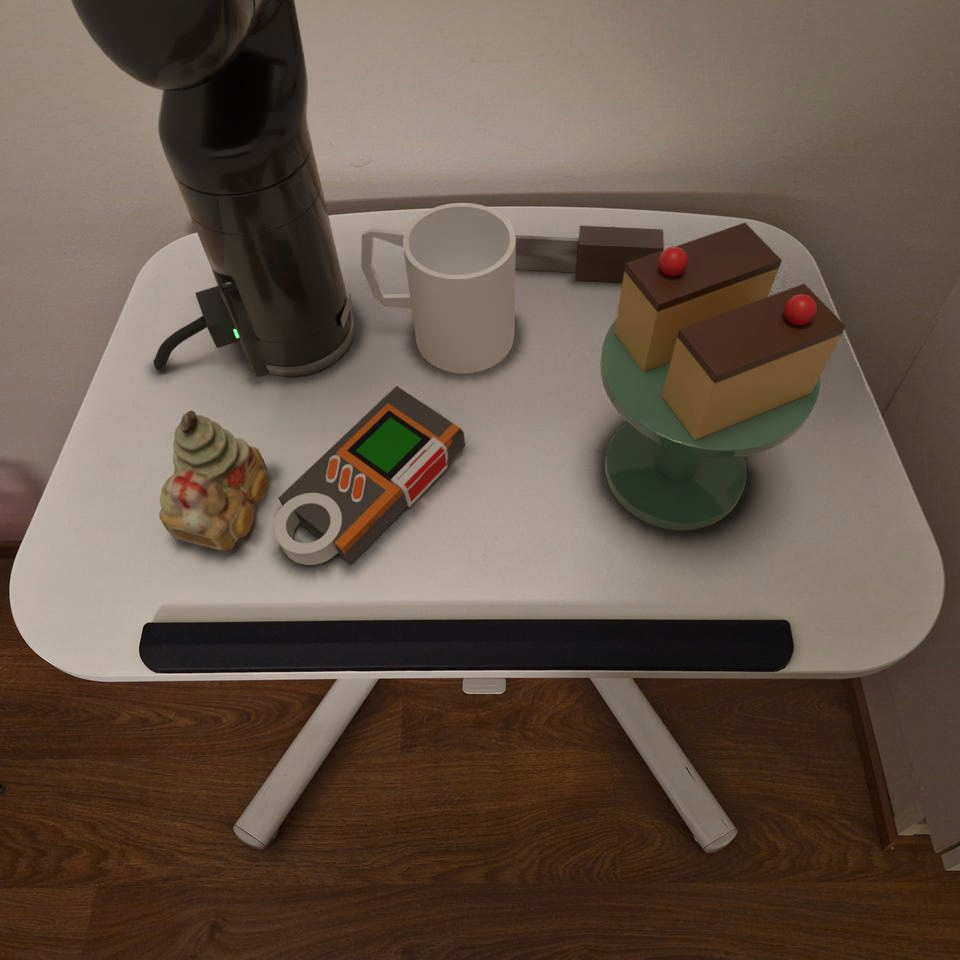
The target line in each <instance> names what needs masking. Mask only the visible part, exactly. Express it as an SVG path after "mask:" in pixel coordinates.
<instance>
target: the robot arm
mask: <svg viewBox="0 0 960 960" xmlns="http://www.w3.org/2000/svg"><path fill="white" fill-rule="evenodd" d="M70 2H71V4H72V6H73V9H74V11H75V13H76V14H77V17H78V18H79V20H80V22H81V24H82V26H83V27H84V29H85V31H86V32H87V34H88V35H89V37H90V38H91V40H92V41H93V42H94V43H95V44H96V46H97V47H98V49H100V50H101V52H102V53H103V54H104V55H105V57H107V58H108V59H109V60H110V61H111V62H112V63H113V64H114V65H115V66H116V67H118V69H119V70H120V71H122V72H123V73H125V74H126V75H127V76H129V77H131V78H132V79H133V80H134V81H137V82H138V83H141V84H142V85H144V86H147V87H150V88H152V89H156V90H160V91H161V94H160V102H159V108H158V115H157V134H158V140H159V143H160V145H161V148H162V151H163V154H164V156H165V158H166V161H167V163H168V166H169V168H170V170H171V173H172V174H173V177H174V179H175V182H176V184H177V187H178V189H179V191H180V194H181V197H182V199H183V202H184V205H185V207H186V209H187V212H188V214H189V216H190V219H191V221H192V223H193V226H194V229H195V231H196V233H197V236H198V238H199V241H200V243H201V246H202V249H203V251H204V253H205V256H206V258H207V260H208V263H209V266H210V269H211V271H212V274H213V277H214V280H215V282H216V284H217V285H215V286H213V287H208V288H207V289H203V290H200V291H197V292H195V293H194V294H195V297H196V300H197V302H198V305H199V308H200V311H201V314H202V315H201V316H199V317H198V318H196V319H195V320H193V321H191V322H190V323H188V324H186V325H184V326H183V327H181V328H180V329H177V330H176V331H175V332H173V333H172V334H170V336H168V337H167V338H166V339H165V340H164V341H163V342H161V345H160V346H159V347H158V349H157V352H156V355H155V357H154V359H153V365H154V368H155V370H156V371H158V372H159V371H161V370H163V369H164V368H165V367H166V366H167V364H168V360H169V357H170V356H171V354H172V352H173V351H174V350H175V349H176V348H177V347H178V346H179V345H181V344H182V343H183V342H185V341H187V340H188V339H190V338H191V337H193V336H195V335H196V334H199V333H200V332H202V331H203V330H206V329H207V330H208V332H209V335H210V337H211V339H212V341H213V344H214V345H215V348H216V349H220V348H223V347H227V346H229V345H232V344H235V343H238V342H240V345H241V347H242V350H243V352H244V354H245V356H246V358H247V361H248V363H249V365H250V367H251V370H252V372H253V375H254V376H255V377H260V376H264V375H266V374H271V375H276V376H281V377H282V376H283V377H298V376H305V375H311V374H312V373H316V372H319V371H321V370H324V369H325V368H327V367H329V366H331V365H332V364H334V363H336V362H338V360H340V358H341V357H343V356H344V354H345V353H346V352H347V351H348V349H349V348H350V346H351V344H352V343H353V340H354V337H355V331H356V327H355V326H356V325H355V319H354V315H353V311H352V309H351V308H352V305H353V298H352V293H351V292H349V294H347V291H346V286H345V282H344V278H343V273H342V269H341V264H340V261H339V256H338V250H337V247H336V243H335V238H334V234H333V229H332V225H331V221H330V217H329V212H328V207H327V204H326V199H325V194H324V191H323V186H322V181H321V178H320V173H319V169H318V164H317V160H316V155H315V151H314V147H313V146H314V145H313V143H312V138H311V137H312V136H311V133H310V128H309V124H308V100H309V99H308V97H309V79H308V77H309V75H308V67H307V62H306V56H305V51H304V45H303V40H302V33H301V27H300V23H299V16H298V10H297V6H296V0H70Z"/></svg>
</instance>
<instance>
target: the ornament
mask: <svg viewBox="0 0 960 960" xmlns="http://www.w3.org/2000/svg"><path fill="white" fill-rule="evenodd" d="M172 446H173V447H172V448H173V454H172V463H173V464H174V466H173V474H172V475H171V476H170V477H168V479H167V480H166V481H165V482H164V483H163V485H162V487H161V492H160V496H159V504H160V507H161V508H160V511H159V513H158V516H159V520H160V522H161V523H162V525H163V526H164V528H165V530H166V531H167V532H168V533H169V534H170V535H171V536H172V537H173V538H175V539H178V540H180V541H182V542H187V543H190V544H194V545H198V546H202V547H207V548H209V549H212V550H216V551H217V550H218V551H221V552H223V551H224V552H228V551H230V550H232V549H233V548H234V546H236V544H237V542H238V540H240V539H241V538H243V537H246V536H247V535H248V534H249V533H250V531H251V529H252V526H253V524H254V520H255V508H254V506H253V505H255V504H257V503H259V502H261V501H262V500H263V498H264V497H265V495H266V493H267V491H268V488H269V484H270V483H269V475H268V473H267V472H268V468H267V464H266V462H265V460H264V457H263V456H262V454H261V452H260V450H259V449H258V448H257V447H255V446H250V445H249V444H248V442H247V441H246V440H245V439H244V438H240V437H235V436H234V434H233V433H232V432H231V431H230V430H228V429H226V428H224V427H222V426H221V425H220V423H219V422H217V421H215V420H211V419H210V417H208V416H206V415H202V414H196V412H195V411H194V410H188V411H187V412H185V413H183V414H182V416H181V420H180V422H179V423H178V425H176V428H175V430H174V439H173V445H172Z"/></svg>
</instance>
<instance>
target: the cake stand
mask: <svg viewBox="0 0 960 960" xmlns="http://www.w3.org/2000/svg"><path fill="white" fill-rule="evenodd" d="M616 319H617V317H616V318H615V319H614V321H613V322H612V323H611V325H610V326H609V328H608V330H607V331H606V335H605V336H604V339H603V343H602V347H601V354H600V360H599V361H600V362H599V366H600V370H599V371H600V377H601V381H602V385H603V388H604V391H605V393H606V395H607V397H608V399H609V401H610V402H611V405H612V406H613V407H614V409H615V410H616V411H617V412H618V413H619V415H620V416H621V417H622V418H623V419H624V420H625V421H626V422H625V423H624V424H623V425H621V426H620V427H619V428H618V430H617V431H615V433H614V435H613V436H612V438H611V439H610V442H609V444H608V447H607V450H606V457H605V461H604V472H605V478H606V481H607V485H608V486H609V489H610V491H611V492H612V495H613V496H614V498H615V499H616V500H617V502H618V503H619V504H620V505H621V506H622V507H623V508H624V509H625V510H626V511H627V512H628V513H630V515H632V516H634V517H635V518H637V519H638V520H640V521H642V522H644V523H646V524H648V525H651V526H654V527H656V528H661V529H665V530H671V531H694V530H700V529H704V528H707V527H709V526H711V525H714V524H716V523H717V522H720V521H722V520H723V519H724V518H725V517H727V516H728V515H729V514H730V513H731V512H732V511H733V510H734V508H735V507H736V506H737V504H738V502H739V500H740V499H741V497H742V495H743V492H744V490H745V486H746V484H747V483H746V482H747V466H746V460H745V458H744V457H747V456H751V455H757V454H759V453H762V452H765V451H768V450H771V449H773V448H774V447H777V446H779V445H781V444H783V443H784V442H786V441H787V440H789V439H790V438H791V437H793V436H794V435H795V434H796V433H797V432H798V431H800V429H801V428H802V427H803V426H804V424H805V423H806V422H807V420H808V419H809V418H810V416H811V413H812V412H813V410H814V408H815V405H816V404H817V402H818V398H819V395H820V391H821V381H822V380H821V376H820V377H819V379H818V381H817V383H816V385H815V387H814V389H813V391H812V393H811V394H808V395H806V396H803V397H801V398H798V399H796V400H793V401H791V402H789V403H786V404H784V405H781V406H779V407H776V408H774V409H771V410H769V411H766V412H764V413H761V414H759V415H756V416H754V417H751V418H749V419H746V420H744V421H742V422H739V423H737V424H734V425H732V426H729V427H727V428H724V429H722V430H719V431H717V432H714V433H712V434H709V435H707V436H704V437H702V438H700V439H697V440H694V439H693V438H692V436H691V435H690V434H689V432H688V431H687V429H686V428H685V427H684V425H683V424H682V423H681V421H680V420H679V419H678V417H677V416H676V415H675V413H674V412H673V411H672V409H671V408H670V407H669V405H668V404H667V403H666V401H665V400H664V399H663V397H662V393H663V389H664V385H665V381H666V378H667V374H668V370H669V366H670V363H671V362H669V363H666V364H664V365H661V366H658V367H656V368H653V369H650V370H648V371H645V372H643V371H642V369H641V368H640V367H639V365H638V364H637V363H636V361H635V360H634V358H633V357H632V356H631V354H630V353H629V352H628V350H627V349H626V348H625V346H624V345H623V344H622V342H621V341H620V340H619V338H618V337H617V336H616V334H615V333H614V331H615V325H616Z"/></svg>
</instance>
